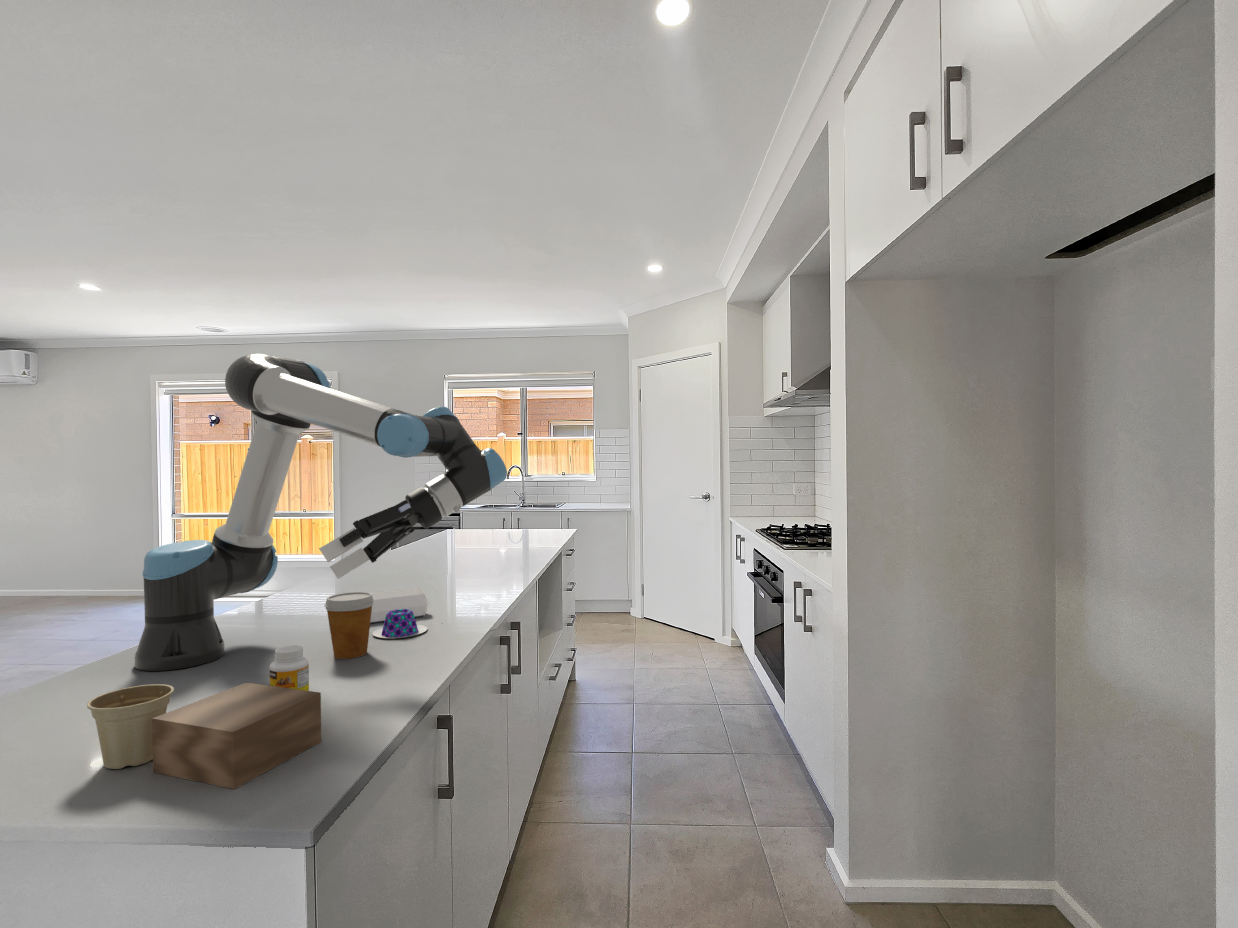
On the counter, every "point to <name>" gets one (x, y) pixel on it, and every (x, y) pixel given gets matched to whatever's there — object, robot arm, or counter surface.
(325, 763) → the counter surface
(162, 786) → the counter surface
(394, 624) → the pudding
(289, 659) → the supplement bottle
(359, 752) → the counter surface
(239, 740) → the block
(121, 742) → the flower pot
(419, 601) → the white rectangular box
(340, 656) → the disposable coffee cup
